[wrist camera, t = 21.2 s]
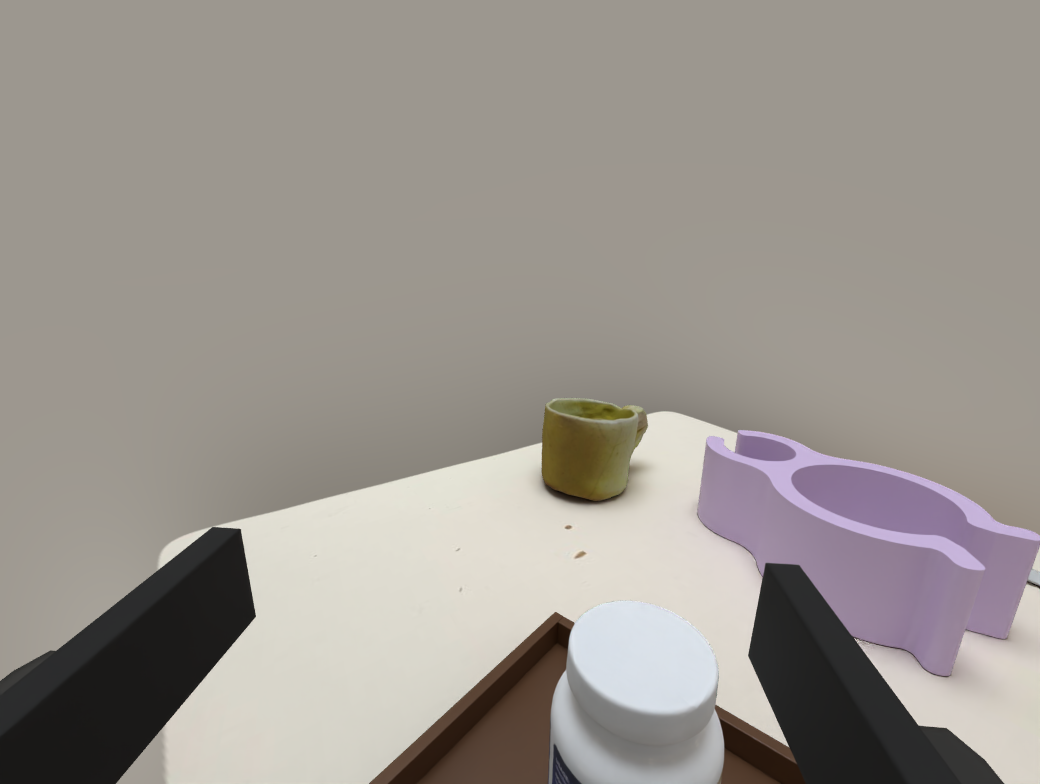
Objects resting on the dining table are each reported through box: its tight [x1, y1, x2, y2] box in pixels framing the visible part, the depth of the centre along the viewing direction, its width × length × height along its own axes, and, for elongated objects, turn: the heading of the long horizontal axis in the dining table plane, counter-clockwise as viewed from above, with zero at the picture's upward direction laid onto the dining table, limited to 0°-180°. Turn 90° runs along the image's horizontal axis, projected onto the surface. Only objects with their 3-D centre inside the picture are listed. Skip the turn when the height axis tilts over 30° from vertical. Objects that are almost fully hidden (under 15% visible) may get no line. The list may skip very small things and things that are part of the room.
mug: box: [542, 398, 648, 501], centre depth 48 cm, size 12×10×10 cm
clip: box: [698, 430, 1040, 676], centre depth 36 cm, size 20×12×7 cm, turn 25°
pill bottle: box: [548, 601, 724, 784], centre depth 17 cm, size 6×6×10 cm
